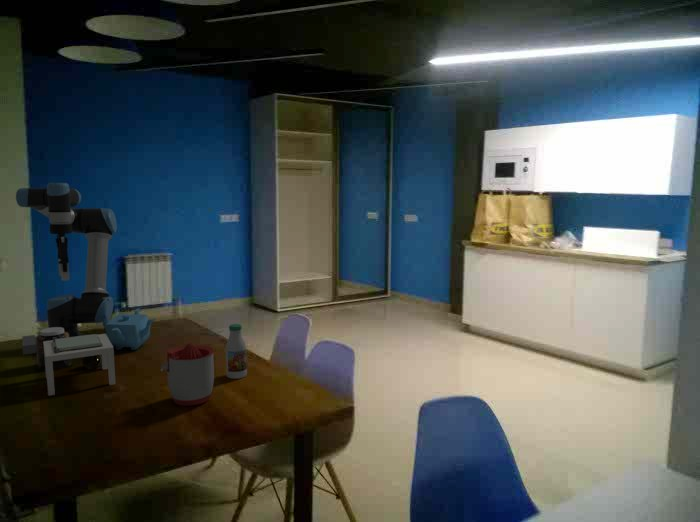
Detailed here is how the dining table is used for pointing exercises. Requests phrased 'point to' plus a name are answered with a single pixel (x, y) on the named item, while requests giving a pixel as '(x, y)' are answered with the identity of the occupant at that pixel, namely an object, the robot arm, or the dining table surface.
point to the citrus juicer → (190, 374)
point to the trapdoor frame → (104, 351)
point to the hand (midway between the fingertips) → (64, 277)
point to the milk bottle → (236, 353)
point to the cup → (92, 361)
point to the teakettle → (128, 330)
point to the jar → (48, 336)
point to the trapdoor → (62, 343)
